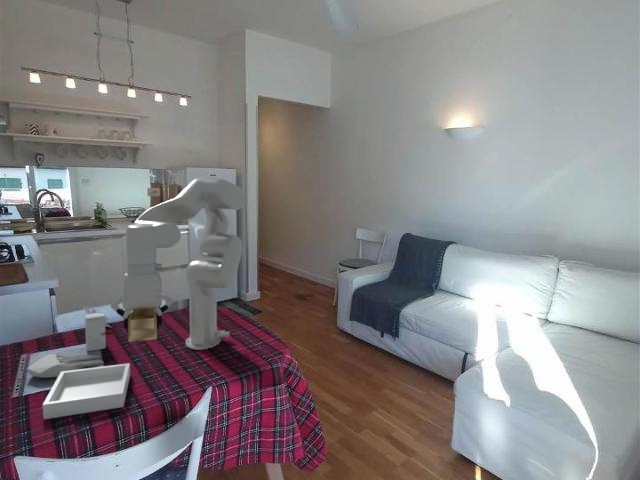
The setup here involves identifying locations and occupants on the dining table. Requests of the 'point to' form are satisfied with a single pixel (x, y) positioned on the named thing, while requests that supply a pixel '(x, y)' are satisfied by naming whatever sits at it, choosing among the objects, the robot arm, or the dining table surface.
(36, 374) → the turret
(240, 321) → the dining table surface
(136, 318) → the pine crate
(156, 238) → the robot arm
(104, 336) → the skincare box
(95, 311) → the water lily
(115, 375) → the white tray
